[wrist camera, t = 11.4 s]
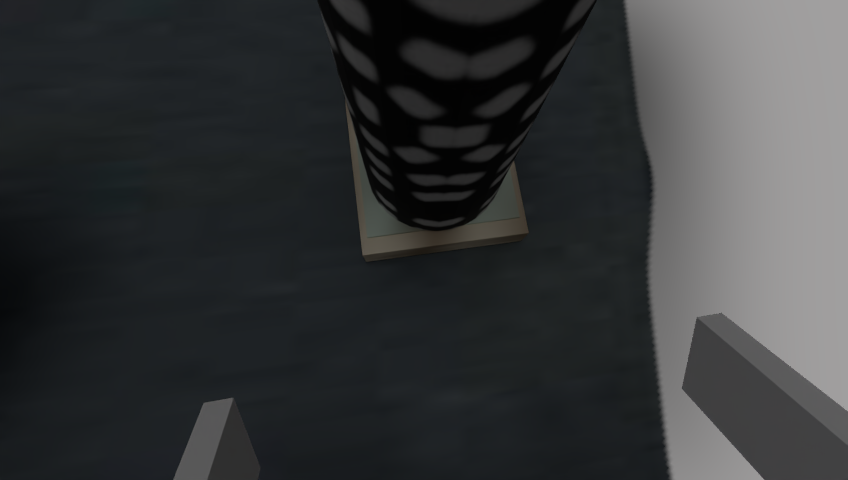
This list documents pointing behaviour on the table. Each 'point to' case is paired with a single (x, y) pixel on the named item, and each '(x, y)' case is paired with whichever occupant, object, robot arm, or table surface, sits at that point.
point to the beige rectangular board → (401, 240)
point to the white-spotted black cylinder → (446, 94)
